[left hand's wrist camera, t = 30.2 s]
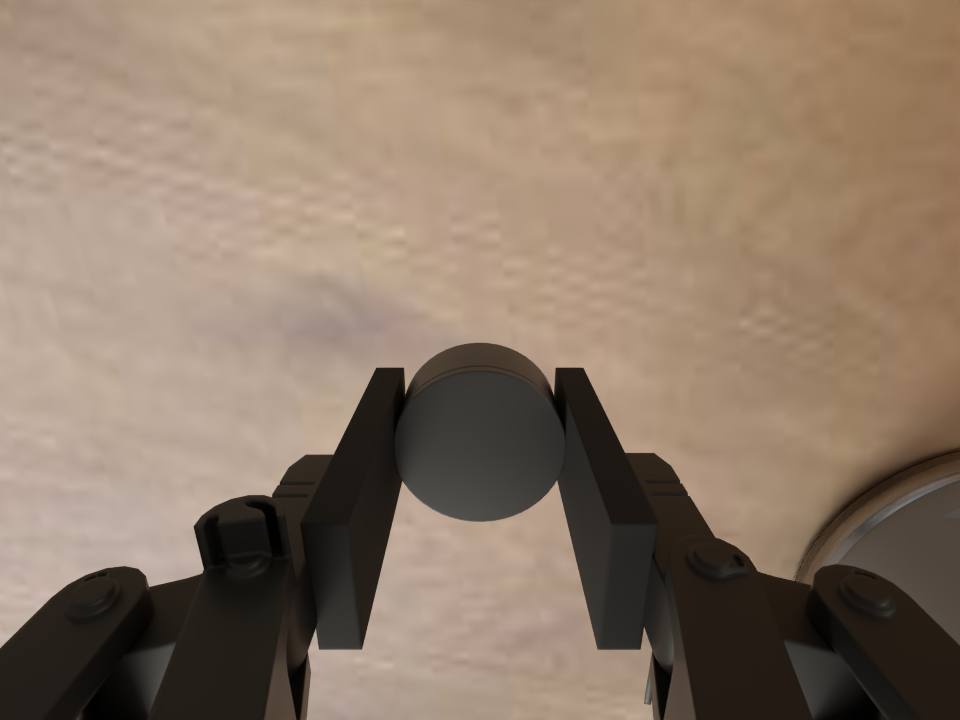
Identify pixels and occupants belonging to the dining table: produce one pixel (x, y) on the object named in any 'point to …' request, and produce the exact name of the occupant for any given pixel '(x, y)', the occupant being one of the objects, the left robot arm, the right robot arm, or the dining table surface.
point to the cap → (479, 433)
